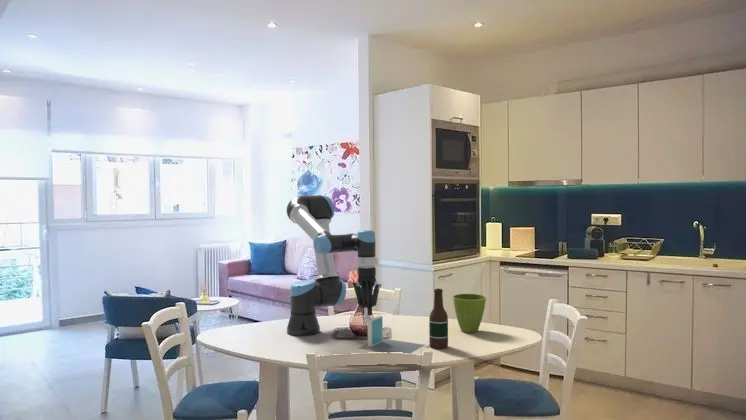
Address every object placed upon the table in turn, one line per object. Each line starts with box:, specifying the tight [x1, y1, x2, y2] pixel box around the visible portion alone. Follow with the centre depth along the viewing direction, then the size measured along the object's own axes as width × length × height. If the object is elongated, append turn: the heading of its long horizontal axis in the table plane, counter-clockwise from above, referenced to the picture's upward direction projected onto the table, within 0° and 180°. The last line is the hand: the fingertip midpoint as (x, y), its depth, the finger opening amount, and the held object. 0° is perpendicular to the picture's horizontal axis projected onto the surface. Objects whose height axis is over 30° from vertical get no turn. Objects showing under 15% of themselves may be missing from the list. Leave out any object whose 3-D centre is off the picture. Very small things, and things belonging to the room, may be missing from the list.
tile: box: [367, 315, 384, 347], centre depth 231 cm, size 2×9×11 cm, turn 148°
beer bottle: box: [428, 288, 449, 350], centre depth 228 cm, size 8×8×24 cm
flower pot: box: [452, 293, 487, 334], centre depth 254 cm, size 15×15×16 cm
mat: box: [358, 338, 426, 354], centre depth 227 cm, size 22×18×1 cm
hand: (367, 322), depth 233 cm, fingers closed
